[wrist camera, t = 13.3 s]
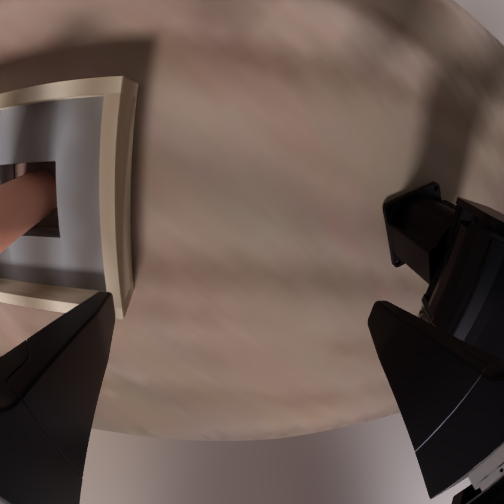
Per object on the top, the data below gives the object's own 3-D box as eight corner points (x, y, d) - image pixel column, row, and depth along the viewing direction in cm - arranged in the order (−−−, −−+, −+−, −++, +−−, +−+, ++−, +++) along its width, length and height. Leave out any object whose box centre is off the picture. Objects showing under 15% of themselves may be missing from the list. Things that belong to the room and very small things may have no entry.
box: (-8, 273, 20) (-29, 295, 16) (-24, 106, 13) (-53, 110, 10) (133, 290, 23) (123, 319, 19) (138, 83, 16) (122, 75, 13)
